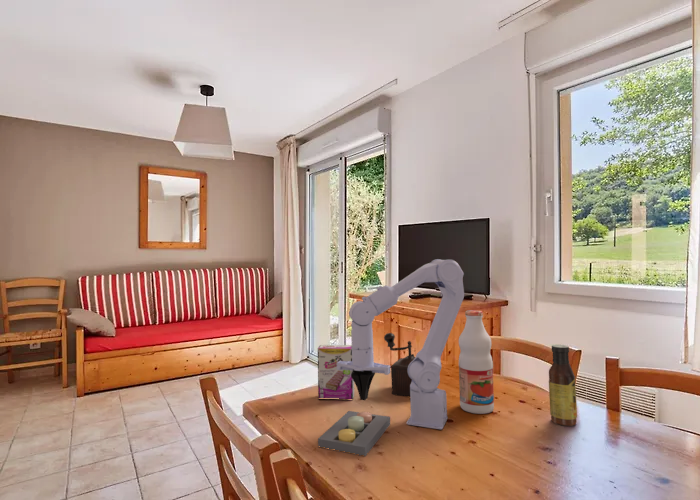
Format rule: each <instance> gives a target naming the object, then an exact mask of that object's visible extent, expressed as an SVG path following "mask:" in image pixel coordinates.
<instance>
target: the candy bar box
mask: <svg viewBox="0 0 700 500" xmlns="http://www.w3.org/2000/svg"><path fill="white" fill-rule="evenodd" d="M339 361H352V344H320V345H319V346H318V347H317V388H318V389H317V392H318V393H317V395H318V396H317V398H339V399H353V400H354V398H355V397H354V396H355V382H354V381H353V379H352V378H351V374H352V372H353V371H352V370H342V369H341V370H337V362H339Z"/></svg>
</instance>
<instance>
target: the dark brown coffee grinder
mask: <svg viewBox="0 0 700 500" xmlns="http://www.w3.org/2000/svg"><path fill="white" fill-rule="evenodd" d="M383 339H384V341H385V342H386V343H387V348H389V350H390V351H394V352H395V351H403V350H405V351H406V350H407V349H408V350H407V351H408V352H407V353H408V355H406V356H405V357H403V358H402V357H400V358H398V360H397V361H395V362H394V363H393V364H392V365H390V375H391V376H390V377H391V395H394V396H399V397H405V398H410V384H411V382H412V379H411V378H410V377H409V375H408V366H409V364H410V363H411V362H412V361H413V360H414V359H415V357H416V356H415V355H414V353H413V354H412V347H413V346H412V341H411V340H408V341H407V342H406V343H407V345H406V346H403V347H395V346H396V343H395V339H396V336H395V334H394V333H392V332H388V333H386V334H385V335H384V337H383Z"/></svg>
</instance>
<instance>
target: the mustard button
mask: <svg viewBox="0 0 700 500" xmlns="http://www.w3.org/2000/svg"><path fill="white" fill-rule="evenodd" d="M354 440H355V431H354V430H352V429H343V430H340V431H339V441H345V442H351V443H353V441H354Z"/></svg>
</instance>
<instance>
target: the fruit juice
mask: <svg viewBox="0 0 700 500" xmlns="http://www.w3.org/2000/svg"><path fill="white" fill-rule="evenodd" d="M464 315H465V318H466V319H465V320H466V321H465V325H464V328H463V330H462V332H461V334H460V335H459V337H458V346H459V351H460V352H459V357H458V377H459V381H458V383H459V405H460V408H461V409H462V410H463V411H465V412H467V413H471V414H476V415H477V414H478V415H482V414H483V415H484V414H490V413H492V412H493V411H494V409H495V398H494V397H495V396H494V395H495V394H494V391H495V390H494V362H493V357H492V355H491V349H492V338H491V336H490V335H489V333H488V331H487V330H486V328H485V325H484V322H483V318H484V312H483V311H482V310H477V309H473V310H472V309H471V310H466V311H465V314H464Z"/></svg>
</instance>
